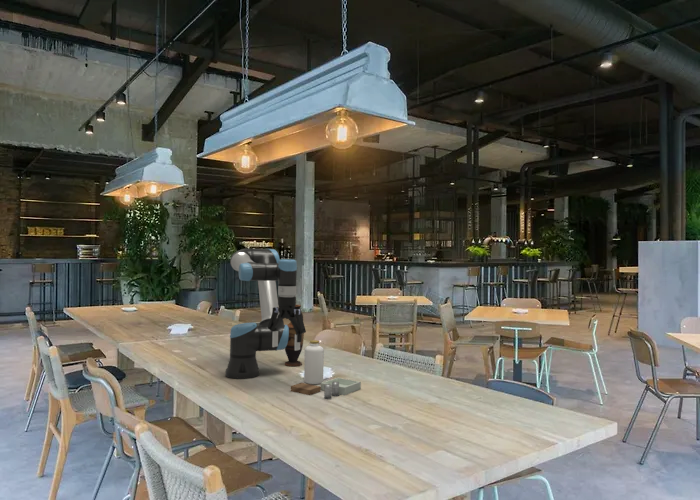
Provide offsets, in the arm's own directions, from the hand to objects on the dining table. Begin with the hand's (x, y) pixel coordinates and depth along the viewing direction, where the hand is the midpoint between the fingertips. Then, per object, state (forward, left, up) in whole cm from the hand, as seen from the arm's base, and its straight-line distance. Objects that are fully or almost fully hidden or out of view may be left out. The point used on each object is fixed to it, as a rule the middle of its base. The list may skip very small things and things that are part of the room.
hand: (286, 348), depth 209 cm
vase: (-25, +35, -16) cm, 46 cm away
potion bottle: (+5, +13, -16) cm, 21 cm away
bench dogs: (+24, 0, -16) cm, 29 cm away
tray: (+21, +10, -16) cm, 28 cm away
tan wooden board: (+11, 0, -17) cm, 20 cm away
